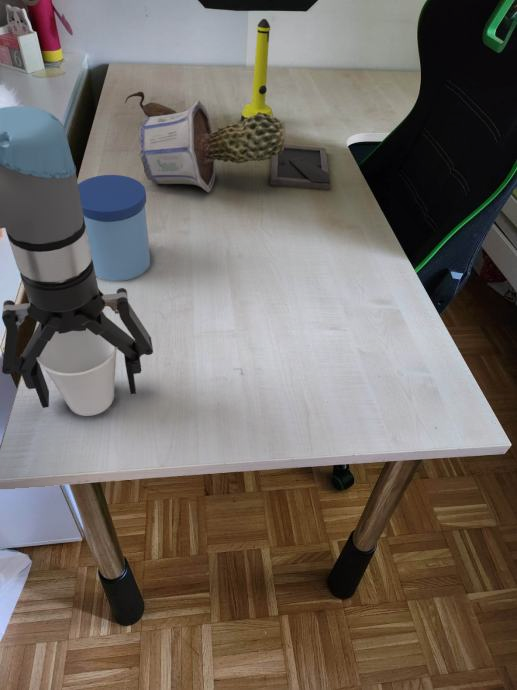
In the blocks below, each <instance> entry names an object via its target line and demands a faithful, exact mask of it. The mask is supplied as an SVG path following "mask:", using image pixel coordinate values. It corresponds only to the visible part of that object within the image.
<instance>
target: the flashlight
mask: <svg viewBox="0 0 517 690" xmlns="http://www.w3.org/2000/svg"><path fill="white" fill-rule="evenodd" d="M256 30H257V33H256V34H257V35H256V43H255V44H256V45H255V56H254V57H255V58H254V71H253V80H252V81H253V82H252V93H251V95H252V96H251V102H250V103H247V104H245V105H244V107H243V108H242V109H243V110H242V111H241V115H240V122H242V121H244V119H245V118H246V117H247V118H249V117H251V116H255V115H256V114H257V113H258V112H260V113H262V114H263V113H265V114H267V115H270V116H272V117H274V113H273V110H272V107H271V106H270V105H268V104H266V97H267V96H266V94H267V77H268V62H269V61H268V60H269V45H270V44H269V43H270V31H271V25H270V23H269V21H268V20H267V19H266V18H262V19H261V20H260V21H259V22H258V24H257V26H256Z"/></svg>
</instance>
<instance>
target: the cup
mask: <svg viewBox="0 0 517 690" xmlns="http://www.w3.org/2000/svg"><path fill="white" fill-rule="evenodd" d="M117 351H118V347H114V346H113V345H112V344H110V343H109V342H108V341H106V340H105V339H104V338H103V337H101V336H100V335H95V334H94V333H92V332H91V331H90V330H88V329H87V328H86V330H85V331H70V332H67V333H61V334H59V332H55V333H54V335H53V337H52V339H51V340H50V341H48V343H47V344H46V346H45V348H44V349H43V351H42V353H41V355H40V356H39V357H37V358H36V359H37V361H38V363H39V364H40V367H41V369H43V370H44V371H45V373H47V375H48V376H49V378H50V380H51V381H52V382H53V384H54V385H55V387H56V389H57V391H58V393H60V395H61V397H62V398H63V400H64V402H65V403H66V404H67V407H69V409H70V410H71V411H72V412H73V413H74V414H77V415H79V416H82V417H83V416H84V417H90V416H95V415H99V414H101V413H103V412H105V411H106V410H107V409H108V408H109V407H110V406H111V405H112V403H113V402H114V399H115V381H116V365H117V364H116V363H117Z"/></svg>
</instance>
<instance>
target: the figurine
mask: <svg viewBox="0 0 517 690" xmlns="http://www.w3.org/2000/svg"><path fill="white" fill-rule="evenodd" d="M132 97H140V101H139V106H140V108H141V110H142V111H143V113H144V115H145V116H146V117H147V118H148V117H153V116H162V115H169V114H174V113H178V112H177V111H176V110H175V109H172V108H169V107H167V106H165V105H163V104H160V103H157V102H148V103H146V104H144V105H143V103H144V100H145V94H144V92H143V91H137V92H134V93H132V94H130V95H128V96H127V97H126V98H125V104H127V101H128V99H130V98H132Z"/></svg>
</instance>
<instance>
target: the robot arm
mask: <svg viewBox="0 0 517 690" xmlns="http://www.w3.org/2000/svg"><path fill="white" fill-rule="evenodd" d="M76 172H77V168H76V165H75V162H74V159H73V156H72V152H71V148H70V144H69V139H68V136H67V133H66V128H65V126H64V124H63V123H62V122H61V120H60V119H59V118H58V117H57V116H56V115H54V114H53V113H51V112H49V111H47V110H45V109H43V108H39V107H33V106H22V105H18V106H17V105H15V106H14V105H13V106H5V107H0V230H1V229H5V233H6V236H7V239H8V242H9V245H10V248H11V251H12V254H13V257H14V261H15V264H16V267H17V270H18V271H19V275H20V279H21V282H22V285H23V289H24V291H25V294H26V297H27V302H25V303H18V304H16V303H15V301H13V300H10V299H8V300H7V299H6V300H5V301H3V306H2V313H1V320H2V322H3V324H4V327H5V331H6V332H5V341H4V349H3V358H2V366H1V372H2V373H3V374H4V375H11V374H13V373H19V374H20V375H21V377H22V380H23V383H24V385H25V387H26V388H27V389H28V390H33V389H35V391H36V394H37V397H38V399H39V402H40V405H41V407H42V409H44V408H49V407H50V390H49V387H48V384H47V382H46V378H45V376H44V373H43V370H42V367H41V365H40V364H39V363H38V361H37V359H36V358H37V357H39V356H40V355H41V353H42V351H43V349H44V348H45V346H46V344H47V343H48V341H50V340H51V339H52V337H53V335H54V333H55V332H59V334H61V333H67V332H70V331H85V330H86V328H87V329H88V330H90V331H91V332H92V333H94V334H95V335H100V336H101V337H103V338H104V339H105V340H106V341H108V342H109V343H110V344H112V345H113V346H114V347H118V349H117V351H119V352H121V354H123V355H124V364H125V371H126V377H127V383H128V388H129V394H130V395H136V394H137V390H136V382H135V375H137V374H141V373H142V370H143V369H142V365H141V364H142V363H141V357H142V356H144V355H146V356H151V355H152V354H154V348H153V340H152V337H151V335H150V333H149V332H148V330H147V329H146V327H145V326H144V324H143V323H142V321H141V320H140V318H139V317H138V315H137V314H136V312H135V310H134V308H133V307H132V306H131V304H130V302H129V296H128V291H127V289H126V288H124V287H119V288H118V289H117V290H116V293H108V294H104V293H103V292H102V291H101V290H100V288H99V286H98V279H97V276H96V274H95V269H94V264H93V261H92V256H91V249H90V244H89V239H88V234H87V229H86V225H85V221H84V215H83V210H82V204H81V199H80V193H79V188H78V184H79V182H78V178H77V177H78V176H77V173H76ZM105 307H108V308H110V309H111V311H112V312H114V314H115V315H119V316H118V317H119V318H120V320H121V322H122V323H123V325H124V326H125V328H126V330H127V331H128V332H129V333H127V332H126V331H124V330H123V329H122V328H120V326H118V325H117V324H116V323H115V322H113V321H112V320H111V319H110V318H108V317H107V316H106V314H105V313H104V309H105ZM27 316H29V317H30V318H32V319H33V320H34V321H36V322H38V325H37V326H36V328H35V330H34V332H33V334H32V335H31V337H30V339H29V341H28V342H27V345H26V347H25V348H24V350H23V352H20V356H16V352H17V344H18V337H19V327H20V326H21V325H22V323H24V322H25V318H26V317H27ZM129 334H130V335H131V336H130V335H129Z"/></svg>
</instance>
